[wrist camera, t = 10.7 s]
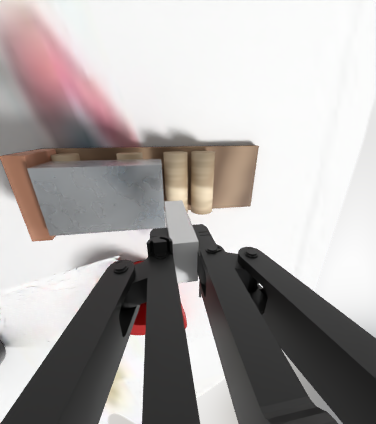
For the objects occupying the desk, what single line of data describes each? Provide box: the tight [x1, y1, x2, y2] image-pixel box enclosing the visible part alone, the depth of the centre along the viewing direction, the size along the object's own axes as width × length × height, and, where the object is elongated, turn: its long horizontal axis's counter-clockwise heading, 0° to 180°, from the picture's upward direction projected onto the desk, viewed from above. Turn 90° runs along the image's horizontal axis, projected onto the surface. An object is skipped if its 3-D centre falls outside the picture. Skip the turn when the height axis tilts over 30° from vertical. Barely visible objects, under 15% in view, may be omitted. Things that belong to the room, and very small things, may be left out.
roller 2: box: [116, 152, 143, 160], centre depth 25 cm, size 8×3×3 cm
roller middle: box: [163, 151, 188, 212], centre depth 25 cm, size 8×3×3 cm, turn 0°
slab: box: [27, 159, 165, 236], centre depth 21 cm, size 12×7×4 cm, turn 90°
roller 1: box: [51, 153, 80, 161], centre depth 24 cm, size 8×3×3 cm, turn 0°
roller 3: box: [191, 151, 215, 214], centre depth 26 cm, size 8×3×3 cm, turn 0°
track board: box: [0, 145, 259, 241], centre depth 24 cm, size 28×9×7 cm, turn 90°
